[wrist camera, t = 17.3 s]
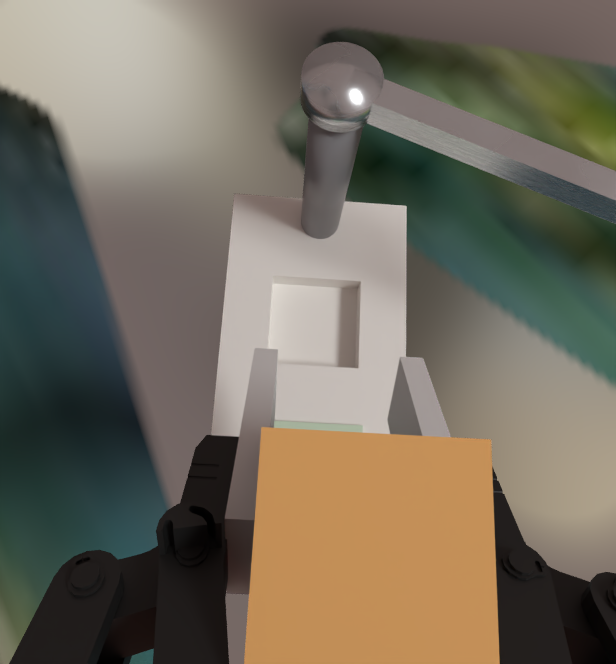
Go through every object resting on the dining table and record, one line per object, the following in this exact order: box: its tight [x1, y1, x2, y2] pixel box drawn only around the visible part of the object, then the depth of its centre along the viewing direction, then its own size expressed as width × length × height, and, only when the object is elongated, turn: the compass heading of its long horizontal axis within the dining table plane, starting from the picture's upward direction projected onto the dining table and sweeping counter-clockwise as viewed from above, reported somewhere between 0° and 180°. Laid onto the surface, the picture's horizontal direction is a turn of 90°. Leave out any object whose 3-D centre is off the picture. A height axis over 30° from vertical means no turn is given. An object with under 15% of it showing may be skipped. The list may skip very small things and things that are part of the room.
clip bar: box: [300, 42, 616, 224], centre depth 19 cm, size 17×3×2 cm, turn 67°
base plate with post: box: [211, 119, 407, 437], centre depth 24 cm, size 21×11×13 cm, turn 177°
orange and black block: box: [244, 427, 500, 664], centre depth 13 cm, size 4×4×11 cm
